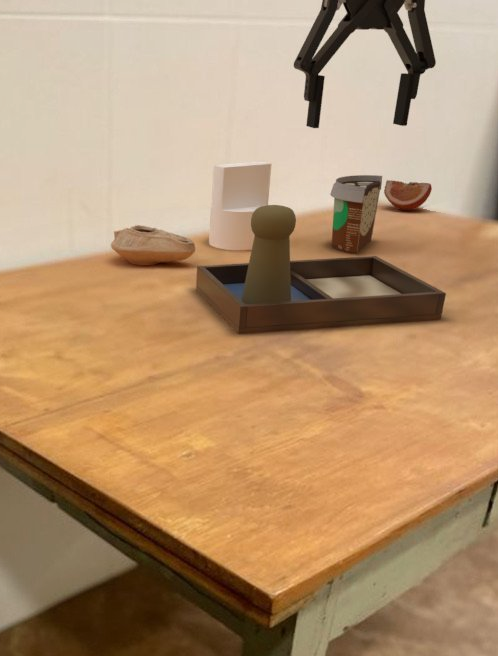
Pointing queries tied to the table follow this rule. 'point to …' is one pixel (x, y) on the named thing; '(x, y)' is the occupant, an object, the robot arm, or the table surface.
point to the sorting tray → (323, 296)
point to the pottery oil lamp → (151, 245)
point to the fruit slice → (407, 194)
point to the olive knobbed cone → (270, 256)
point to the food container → (354, 211)
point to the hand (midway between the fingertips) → (356, 126)
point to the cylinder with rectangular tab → (237, 202)
